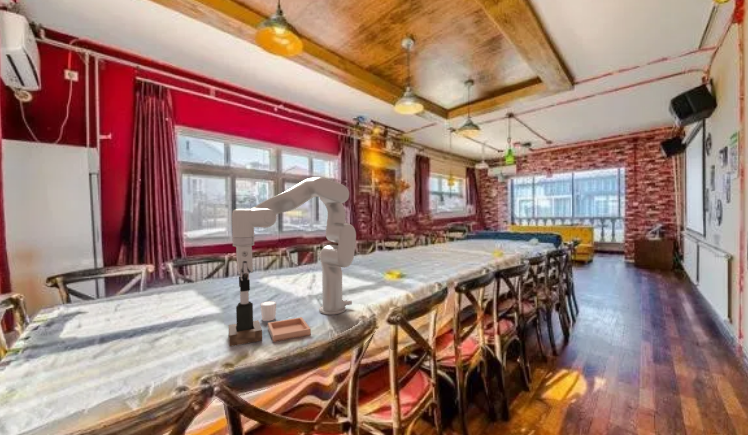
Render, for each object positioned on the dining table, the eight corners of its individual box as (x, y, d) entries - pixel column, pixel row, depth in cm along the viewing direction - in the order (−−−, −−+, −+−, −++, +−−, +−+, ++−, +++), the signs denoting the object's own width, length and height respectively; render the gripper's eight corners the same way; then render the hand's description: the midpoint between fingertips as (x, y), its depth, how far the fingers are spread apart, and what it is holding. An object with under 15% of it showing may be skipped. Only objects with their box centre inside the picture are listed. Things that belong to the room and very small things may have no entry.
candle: (240, 335, 120) (239, 271, 119) (254, 334, 120) (253, 271, 119) (235, 340, 115) (234, 274, 114) (249, 340, 115) (248, 274, 114)
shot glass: (271, 321, 134) (271, 306, 133) (257, 320, 135) (257, 305, 135) (279, 316, 140) (279, 301, 140) (265, 315, 142) (265, 300, 141)
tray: (301, 322, 132) (301, 317, 132) (310, 335, 120) (310, 328, 120) (267, 328, 126) (267, 322, 126) (273, 342, 114) (273, 335, 114)
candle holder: (258, 329, 125) (258, 320, 125) (262, 340, 115) (262, 329, 115) (228, 335, 120) (228, 324, 120) (229, 346, 110) (229, 335, 110)
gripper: (256, 243, 110) (257, 293, 111) (251, 238, 126) (252, 282, 126) (233, 244, 107) (234, 295, 107) (231, 239, 122) (232, 284, 123)
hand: (244, 288), depth 117 cm, fingers open, 6 cm apart
